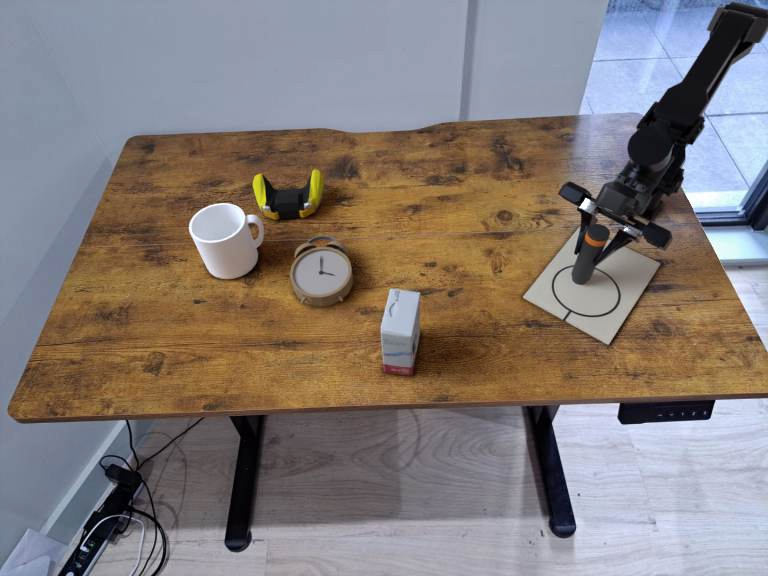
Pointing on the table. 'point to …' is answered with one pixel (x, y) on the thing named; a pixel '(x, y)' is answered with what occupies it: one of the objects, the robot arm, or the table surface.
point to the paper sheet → (593, 290)
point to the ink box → (400, 331)
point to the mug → (226, 239)
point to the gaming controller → (289, 197)
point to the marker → (589, 253)
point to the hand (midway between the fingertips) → (584, 259)
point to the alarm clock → (321, 272)
